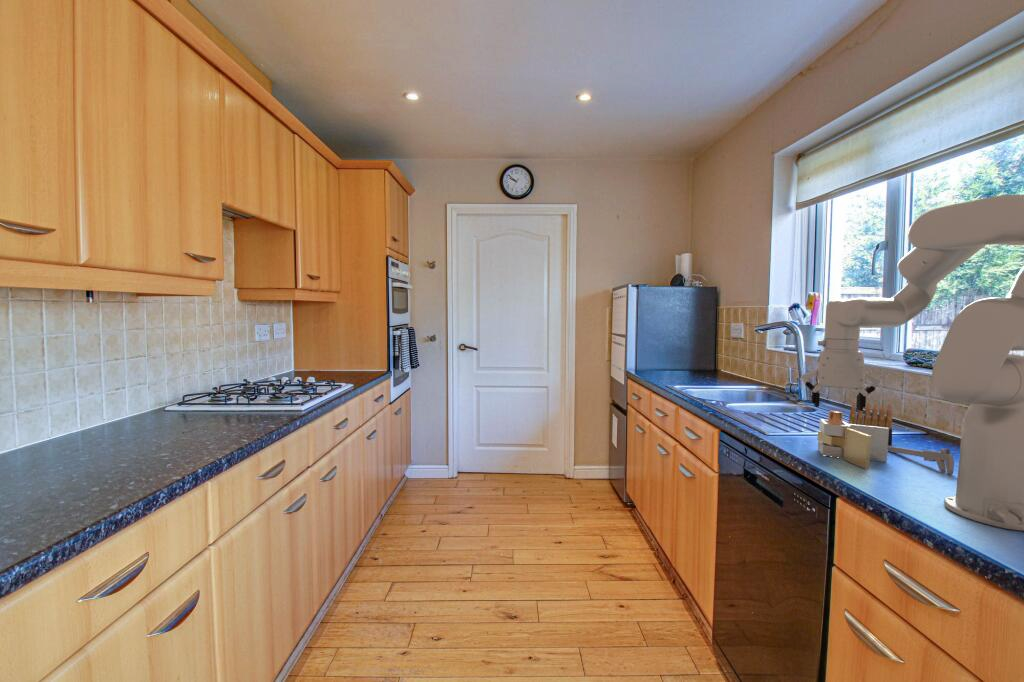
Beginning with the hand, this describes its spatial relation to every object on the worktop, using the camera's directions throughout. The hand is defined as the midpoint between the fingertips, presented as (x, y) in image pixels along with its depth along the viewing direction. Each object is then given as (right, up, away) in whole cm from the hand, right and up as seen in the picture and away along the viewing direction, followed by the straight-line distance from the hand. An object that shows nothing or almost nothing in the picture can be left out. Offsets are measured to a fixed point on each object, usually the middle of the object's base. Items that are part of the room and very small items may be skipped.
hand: (837, 408), depth 117 cm
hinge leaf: (0, -13, -3) cm, 13 cm away
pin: (0, -13, +1) cm, 13 cm away
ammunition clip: (+20, -13, +14) cm, 28 cm away
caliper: (+19, -14, -2) cm, 24 cm away
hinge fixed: (+4, -13, -1) cm, 14 cm away
